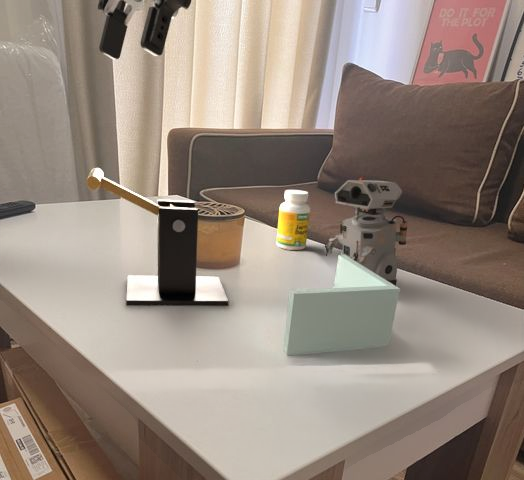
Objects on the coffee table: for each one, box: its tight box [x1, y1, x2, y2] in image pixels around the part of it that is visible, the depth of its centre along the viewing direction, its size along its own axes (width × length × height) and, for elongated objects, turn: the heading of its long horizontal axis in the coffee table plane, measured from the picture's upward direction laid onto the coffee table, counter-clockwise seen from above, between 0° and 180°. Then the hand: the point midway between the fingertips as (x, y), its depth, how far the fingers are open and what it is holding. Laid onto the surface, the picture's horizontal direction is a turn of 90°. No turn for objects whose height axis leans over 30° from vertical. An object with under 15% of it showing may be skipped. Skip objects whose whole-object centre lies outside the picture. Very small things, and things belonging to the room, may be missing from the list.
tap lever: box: [85, 167, 176, 217], centre depth 60 cm, size 12×6×2 cm, turn 102°
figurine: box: [324, 177, 408, 287], centre depth 75 cm, size 9×12×15 cm
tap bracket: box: [125, 199, 230, 307], centre depth 64 cm, size 12×9×12 cm
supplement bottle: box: [276, 189, 311, 251], centre depth 92 cm, size 5×5×10 cm
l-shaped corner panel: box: [282, 254, 401, 356], centre depth 59 cm, size 12×12×8 cm
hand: (128, 54), depth 55 cm, fingers open, 8 cm apart
